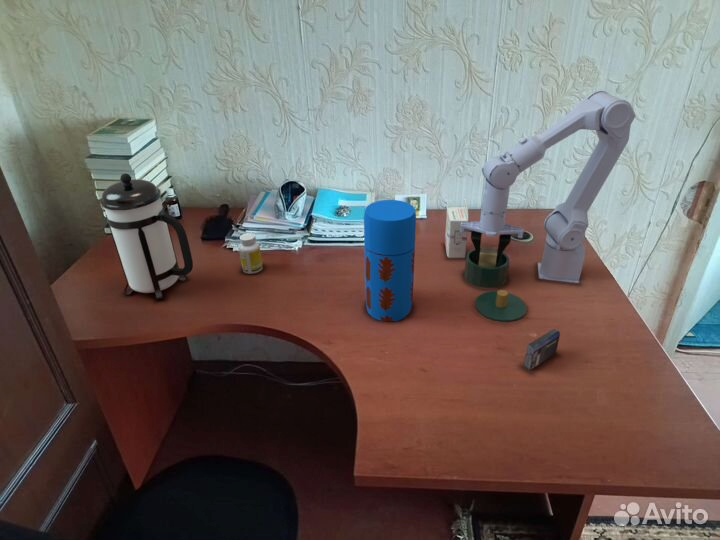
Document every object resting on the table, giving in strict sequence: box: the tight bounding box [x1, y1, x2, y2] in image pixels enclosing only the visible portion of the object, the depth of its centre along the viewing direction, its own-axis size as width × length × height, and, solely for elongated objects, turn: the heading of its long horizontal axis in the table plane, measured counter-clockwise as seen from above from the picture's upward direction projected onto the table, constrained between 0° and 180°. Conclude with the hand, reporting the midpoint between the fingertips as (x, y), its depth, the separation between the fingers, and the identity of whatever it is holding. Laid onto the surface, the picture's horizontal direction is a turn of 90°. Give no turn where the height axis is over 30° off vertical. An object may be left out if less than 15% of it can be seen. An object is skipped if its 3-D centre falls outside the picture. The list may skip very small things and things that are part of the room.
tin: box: [463, 247, 510, 289], centre depth 124 cm, size 10×10×6 cm
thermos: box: [363, 199, 417, 322], centre depth 109 cm, size 11×11×25 cm
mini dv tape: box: [523, 328, 561, 371], centre depth 97 cm, size 8×2×6 cm, turn 126°
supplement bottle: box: [238, 232, 264, 275], centre depth 129 cm, size 5×5×10 cm
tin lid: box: [474, 289, 528, 323], centre depth 113 cm, size 11×11×4 cm
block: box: [479, 245, 498, 268], centre depth 122 cm, size 4×4×4 cm
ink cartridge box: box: [444, 197, 470, 259], centre depth 133 cm, size 9×5×15 cm, turn 178°
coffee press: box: [99, 173, 194, 302], centre depth 118 cm, size 17×16×30 cm
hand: (487, 259), depth 122 cm, fingers closed on block, 4 cm apart
